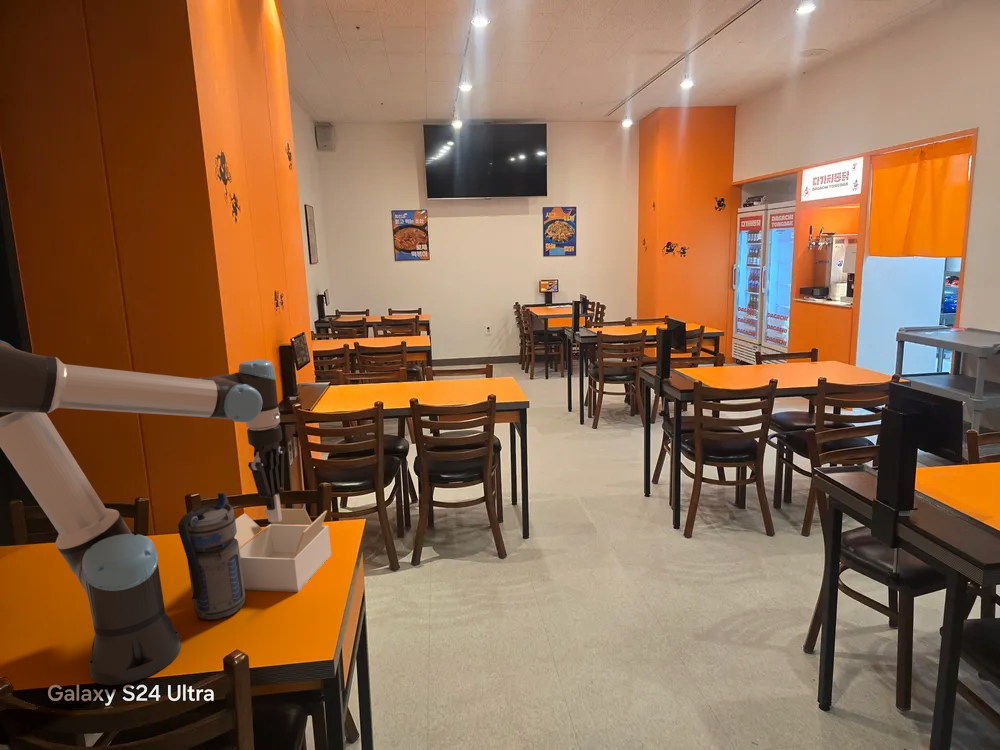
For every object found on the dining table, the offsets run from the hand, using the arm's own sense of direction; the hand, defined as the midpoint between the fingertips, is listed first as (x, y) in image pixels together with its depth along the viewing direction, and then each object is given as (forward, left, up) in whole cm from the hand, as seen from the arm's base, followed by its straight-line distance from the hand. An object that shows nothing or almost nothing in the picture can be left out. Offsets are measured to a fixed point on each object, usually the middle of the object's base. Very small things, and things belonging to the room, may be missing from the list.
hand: (275, 520), depth 149 cm
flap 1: (+6, 0, -2) cm, 6 cm away
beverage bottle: (-19, +5, -13) cm, 23 cm away
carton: (-1, +1, -13) cm, 13 cm away
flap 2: (-2, -10, -2) cm, 10 cm away
